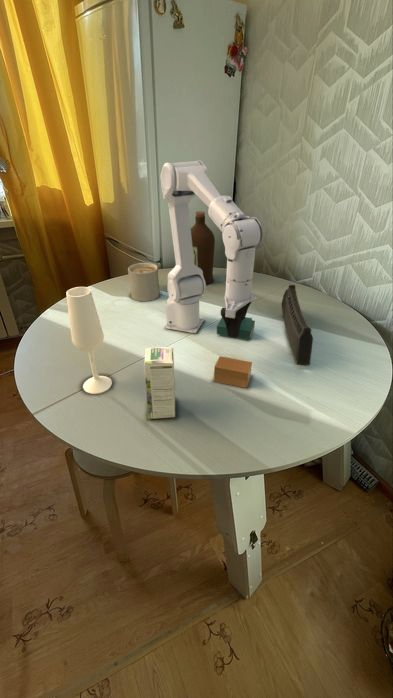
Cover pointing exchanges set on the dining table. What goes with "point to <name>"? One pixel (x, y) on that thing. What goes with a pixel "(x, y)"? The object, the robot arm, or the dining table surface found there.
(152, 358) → the syrup box
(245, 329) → the dark teal flat block
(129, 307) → the dining table surface
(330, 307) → the dining table surface
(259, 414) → the dining table surface
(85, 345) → the champagne flute
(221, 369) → the orange brown block
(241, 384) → the brown wooden block
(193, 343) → the dining table surface
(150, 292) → the coffee mug
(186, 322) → the robot arm
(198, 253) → the olive oil
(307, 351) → the magazine
